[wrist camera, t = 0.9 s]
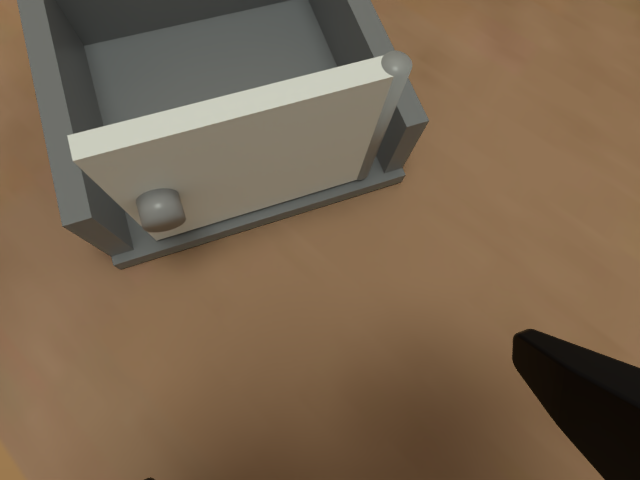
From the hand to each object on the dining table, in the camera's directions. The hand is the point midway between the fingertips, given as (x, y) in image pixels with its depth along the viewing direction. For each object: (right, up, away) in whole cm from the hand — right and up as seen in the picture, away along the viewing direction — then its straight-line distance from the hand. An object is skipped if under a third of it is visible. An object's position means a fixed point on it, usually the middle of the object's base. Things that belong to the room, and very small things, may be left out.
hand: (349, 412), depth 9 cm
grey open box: (-7, +13, +17) cm, 23 cm away
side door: (-4, +6, +14) cm, 16 cm away
